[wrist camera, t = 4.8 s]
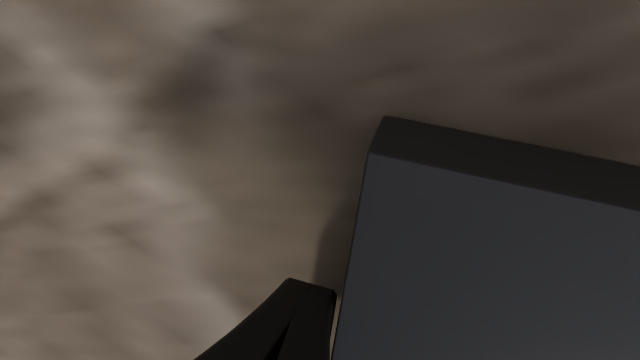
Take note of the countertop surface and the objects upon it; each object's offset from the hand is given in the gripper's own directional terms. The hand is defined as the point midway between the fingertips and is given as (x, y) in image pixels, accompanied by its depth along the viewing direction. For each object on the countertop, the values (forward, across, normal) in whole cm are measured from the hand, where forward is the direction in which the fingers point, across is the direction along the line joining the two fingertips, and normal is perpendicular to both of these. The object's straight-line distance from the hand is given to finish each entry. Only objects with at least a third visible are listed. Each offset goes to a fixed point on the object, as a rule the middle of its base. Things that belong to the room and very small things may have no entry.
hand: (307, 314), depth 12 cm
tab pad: (+1, -4, 0) cm, 4 cm away
